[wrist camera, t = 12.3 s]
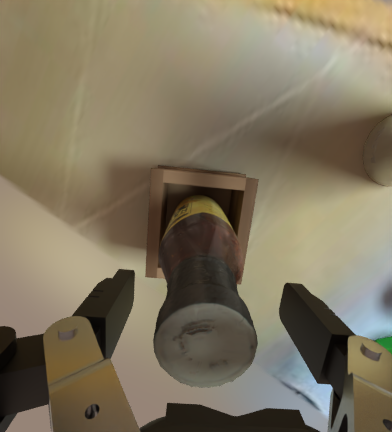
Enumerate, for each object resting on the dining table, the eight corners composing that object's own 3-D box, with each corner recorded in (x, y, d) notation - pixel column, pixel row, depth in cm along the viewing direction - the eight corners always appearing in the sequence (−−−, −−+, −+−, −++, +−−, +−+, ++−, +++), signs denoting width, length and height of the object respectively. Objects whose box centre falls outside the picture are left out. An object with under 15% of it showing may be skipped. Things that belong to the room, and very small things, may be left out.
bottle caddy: (244, 174, 27) (262, 176, 20) (231, 259, 30) (243, 287, 23) (158, 165, 26) (147, 164, 20) (153, 253, 29) (142, 279, 22)
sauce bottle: (180, 187, 26) (141, 236, 7) (228, 200, 27) (319, 279, 7) (169, 236, 28) (107, 391, 8) (214, 247, 28) (259, 421, 9)
